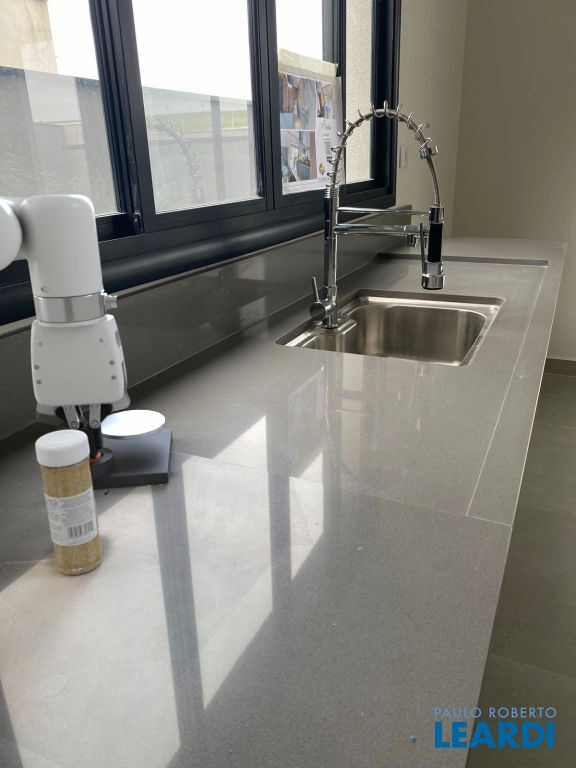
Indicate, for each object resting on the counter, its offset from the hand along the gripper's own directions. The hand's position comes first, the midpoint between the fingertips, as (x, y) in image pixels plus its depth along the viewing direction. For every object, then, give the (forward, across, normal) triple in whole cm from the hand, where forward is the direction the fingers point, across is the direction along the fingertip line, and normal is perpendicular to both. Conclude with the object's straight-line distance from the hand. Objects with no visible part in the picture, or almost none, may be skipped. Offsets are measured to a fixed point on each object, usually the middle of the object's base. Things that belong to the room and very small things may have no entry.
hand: (90, 454), depth 75 cm
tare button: (+2, 0, 0) cm, 2 cm away
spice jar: (+4, -1, +18) cm, 18 cm away
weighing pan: (0, -4, -7) cm, 8 cm away
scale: (+4, -3, -4) cm, 7 cm away
